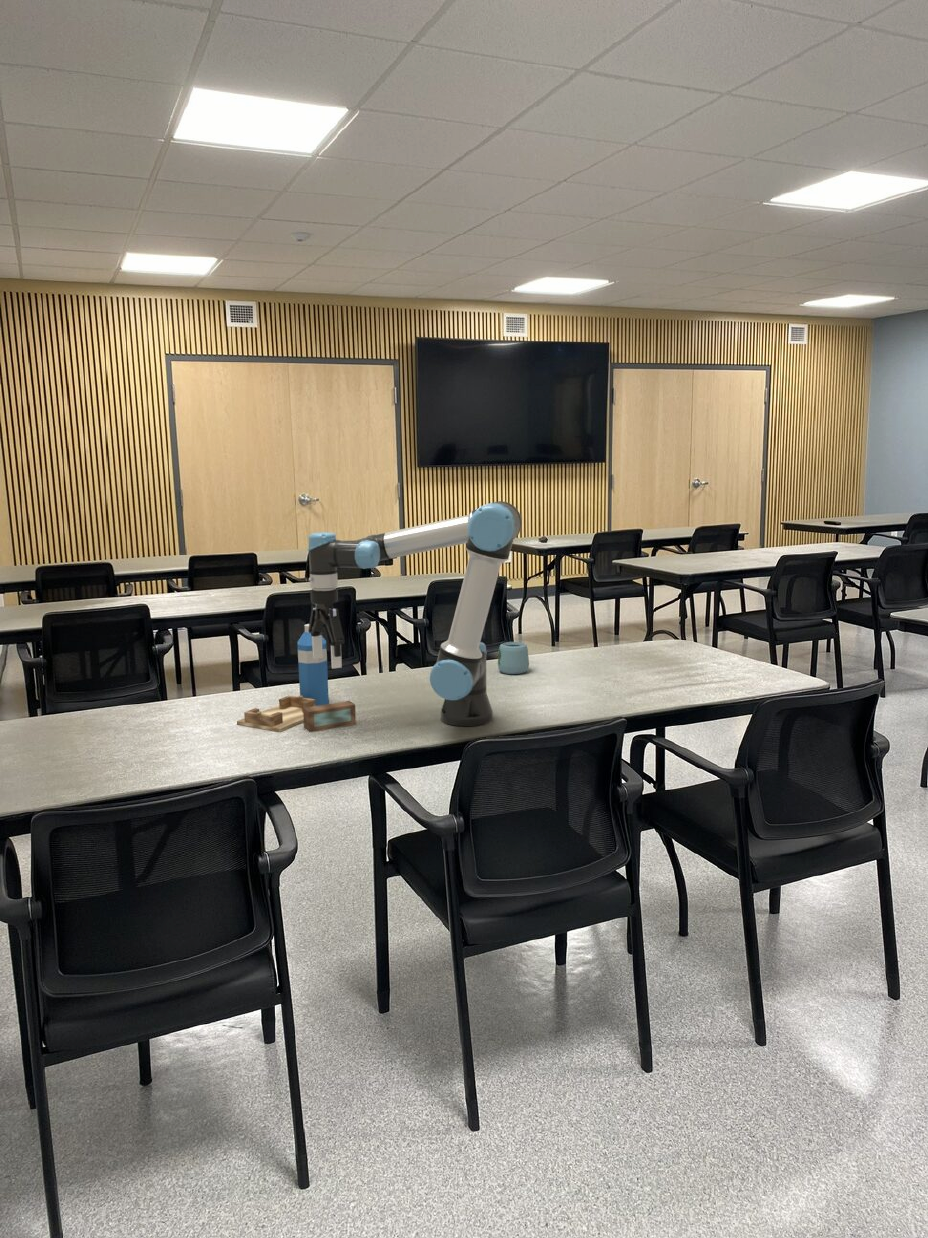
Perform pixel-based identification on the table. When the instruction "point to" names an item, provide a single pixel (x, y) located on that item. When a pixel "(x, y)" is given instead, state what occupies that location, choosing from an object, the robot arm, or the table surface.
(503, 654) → the mug
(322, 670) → the water bottle
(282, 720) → the cleat board
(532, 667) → the table surface
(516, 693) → the table surface
